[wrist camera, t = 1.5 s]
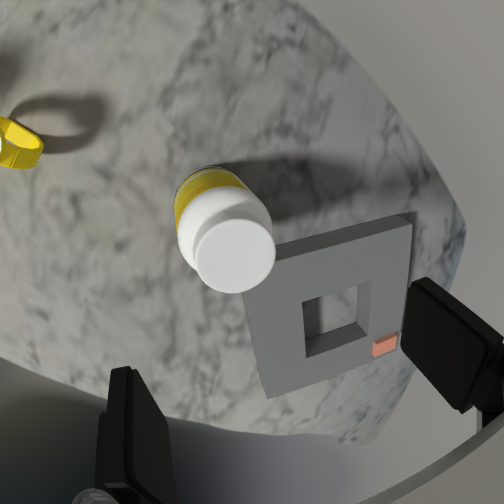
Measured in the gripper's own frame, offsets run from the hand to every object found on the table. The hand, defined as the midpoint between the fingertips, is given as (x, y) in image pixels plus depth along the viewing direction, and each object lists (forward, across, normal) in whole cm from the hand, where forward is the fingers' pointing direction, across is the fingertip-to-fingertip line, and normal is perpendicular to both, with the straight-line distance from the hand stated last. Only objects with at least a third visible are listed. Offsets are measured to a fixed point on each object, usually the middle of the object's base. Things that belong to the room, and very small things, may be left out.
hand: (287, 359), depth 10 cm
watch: (+16, +13, -10) cm, 23 cm away
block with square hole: (+17, -9, +12) cm, 22 cm away
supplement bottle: (+17, 0, -1) cm, 17 cm away
